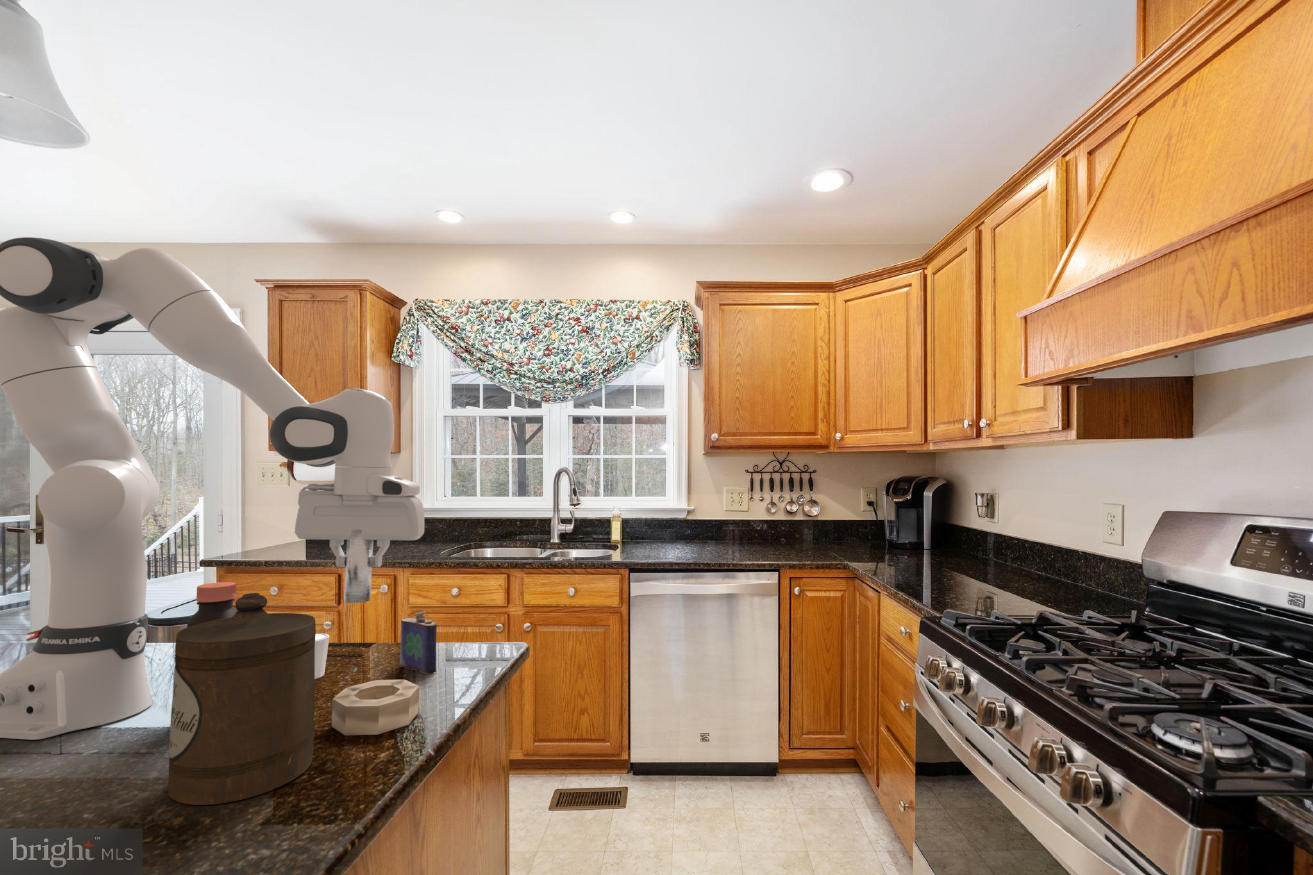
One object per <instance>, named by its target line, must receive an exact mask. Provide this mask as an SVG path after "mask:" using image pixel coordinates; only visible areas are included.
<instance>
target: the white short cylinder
mask: <svg viewBox="0 0 1313 875" xmlns="http://www.w3.org/2000/svg"><path fill="white" fill-rule="evenodd" d="M329 642H330V635H329V633H325V632H324V633H323V632H321V633H320V632H316V635H315V680H316V679H320V678H322V677H323V676H325V672H326V663H327V657H328V656H327V655H328V650H329V649H328V648H329Z"/></svg>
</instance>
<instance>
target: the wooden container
mask: <svg viewBox="0 0 1313 875" xmlns="http://www.w3.org/2000/svg"><path fill="white" fill-rule="evenodd" d="M267 605H268V598H267V597H266V596H265V595H263V594H262V595H261V594H260V593H259V592H250V593H245V594H243V595H242V596H241V597H238V598H237V599H235V609H236V610H237V612H236V613H235V614H234V616H233V617H230V618H224V619H218V620H213V621H208V622H204V623H200V624H196V625H193V626H190V627H187V626H186V627H185V628H183V629H181V630H180V631H178V632H177V634H176V636H175V646H174V659H175V660H174V662H175V664H174V674H173V685H172V686H173V687H172V688H173V689H172V704H171V711H170V712H171V713H170V724H169V725H170V727H169V750H168V754H169V755H168V761H169V762H168V777H167V778H168V780H167V781H168V782H167V792H168V796H169V797H170V799H172V800H173V801H175V802H178V803H180V804H184V805H190V806H191V805H192V806H193V805H194V806H210V805H218V804H220V805H222V804H226V803H232V802H237V801H242V800H246V799H250V798H253V797H256V796H260V795H263V794H266V793H268V792H270V791H273V790H275V789H276V790H277V789H278V788H280V787H282V786H284V785H287V784H288V783H290V782H292V781H294V780H295V779H297V778H298V777H300V776H301V775H302V774H304V773H305V771H307V770H308V769H309V768H310V766H311V765H312V762H313V759H314V756H313V755H314V741H315V740H314V731H315V703H316V702H315V701H316V699H315V698H316V692H315V691H316V690H315V689H316V688H315V684H316V682H315V680H316V679H315V635H316V633H317V629H316V618H315V617H314V616H313V615H309V614H304V613H294V612H293V613H292V612H291V613H290V612H289V613H287V612H285V613H284V612H277V613H275V612H270V613H268V612H267V611H266V610H265V609H264V608H265V607H266V606H267Z"/></svg>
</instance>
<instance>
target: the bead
mask: <svg viewBox="0 0 1313 875" xmlns="http://www.w3.org/2000/svg"><path fill="white" fill-rule="evenodd" d="M419 699H420V685H418V684H415V683H413V682H411V681H408V680H406V679H378V680H377V679H376V680H371V681H367V682H364V683H363V682H362V683H359V684H356V685H351V686H347V687H345V688H344V689H343V690H342V691H339V693H338V694H337V695H336V696H334V697H333V698H332V706H331V708H332V709H331V710H332V711H331V727H332V728H333V729H334V730H336V731H338V732H339V733H341V734H342V735H344V736H363V735H364V736H366V735H367V736H370V735H371V736H372V735H375V736H376V735H380V734H384V733H387V732H390V731H393V730H395V729H396V730H397V729H399V728H402V727H406V726H408V725H409V726H410V724H411V722H412V721H413V720H414V718H415V717H416V716H417V715H418V714H419V707H420V706H419V703H420V702H419V701H420V700H419Z"/></svg>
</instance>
